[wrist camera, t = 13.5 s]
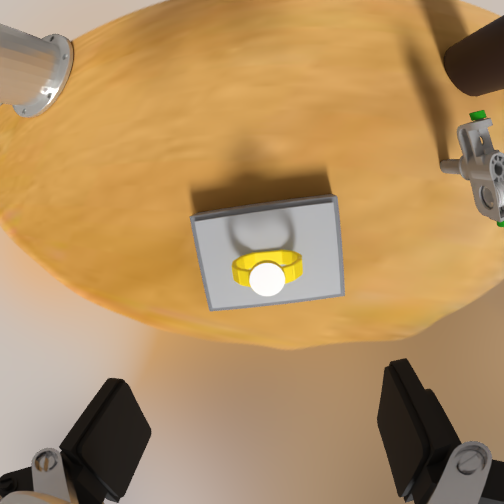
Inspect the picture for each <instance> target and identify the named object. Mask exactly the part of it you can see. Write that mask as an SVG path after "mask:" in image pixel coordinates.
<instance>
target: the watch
mask: <svg viewBox="0 0 504 504" xmlns="http://www.w3.org/2000/svg"><path fill="white" fill-rule="evenodd" d="M280 264H284V265H285V266H282V267H281V266H280ZM231 267H232V273H233V280H234V281H235V282H237V283H238V284H240V285H242V286H247V287H251V288H252V289H253V291H254V292H256V293H257V294H259V295H262V296H273V295H275V294H277V293H279V292H280V291H281V290H282V288H283V286H284V284H286V283H289V282H292V281H294V280H296V279H297V278H298V277H300V276H301V275H302V274H303V264H302V255H301V254H299V253H297V252H295V251H291V250H282V249H280V250H274V251H264V252H252V253H249V254H246V255H242V256H240V257H239V258H237V259H235V260H234V261H233V262H232V266H231ZM250 269H251V270H250Z"/></svg>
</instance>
